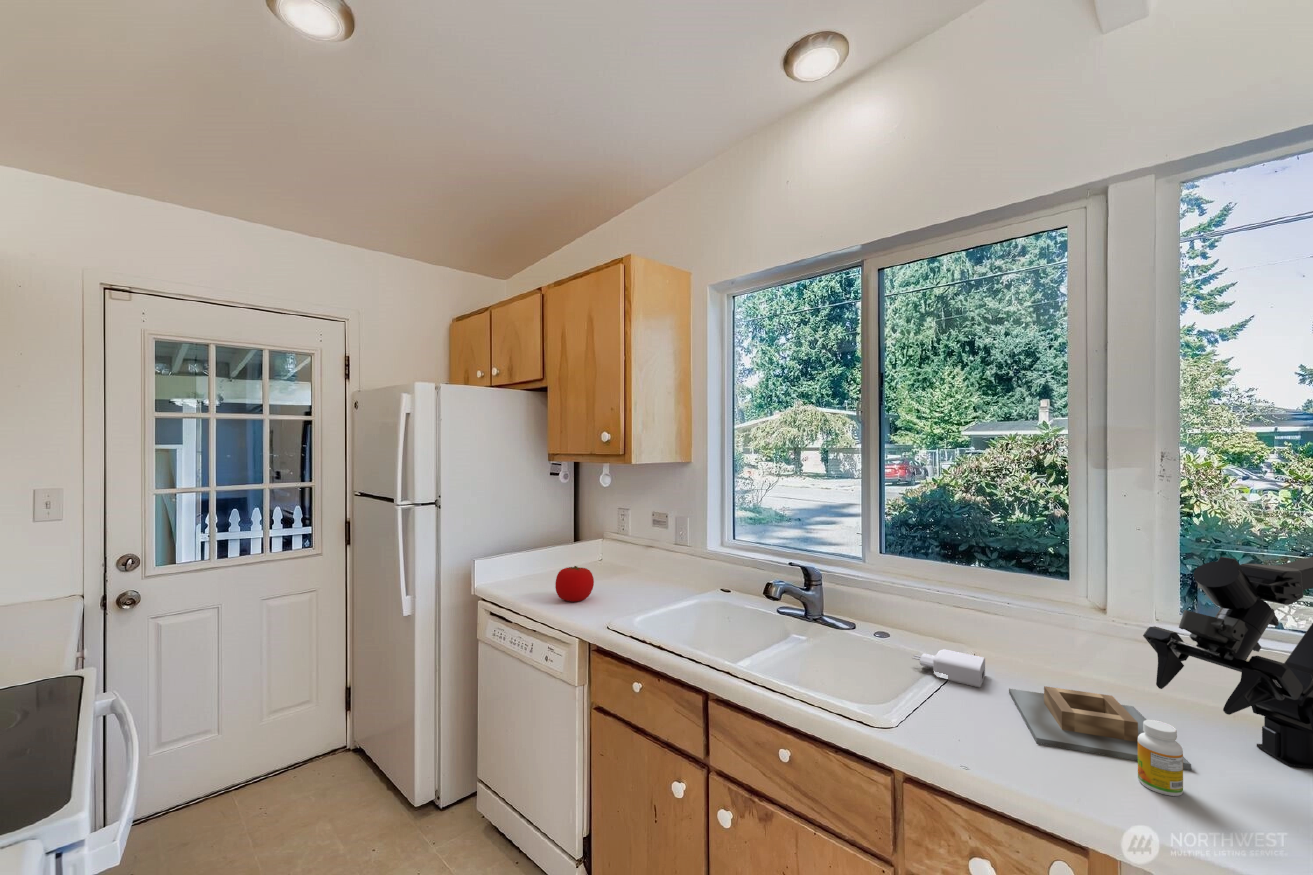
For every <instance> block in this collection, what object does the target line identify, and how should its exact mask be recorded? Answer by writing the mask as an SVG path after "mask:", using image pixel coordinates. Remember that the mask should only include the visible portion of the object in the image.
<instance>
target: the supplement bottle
mask: <svg viewBox="0 0 1313 875" xmlns="http://www.w3.org/2000/svg"><path fill="white" fill-rule="evenodd" d="M1143 731H1144V733H1141V734H1139V736H1138V761H1137V779H1138V782H1139V783H1140V784H1142V785H1143V786H1144V787H1145V788H1147V789H1149V790H1151V791H1153V792H1155V793H1158V794H1161V795H1165V796H1171V797H1178V796H1181V795H1182V794H1183V793H1184V769H1183V757H1184V750H1183V749H1184V748H1183V747H1182V744H1180V743H1179V742H1178V741H1177V739H1178V731H1177V728H1175V727H1174V726H1173V725H1171V724H1169V723H1166V722H1164V721H1160V720H1156V719H1155V720H1154V719H1147V720H1145V721H1144V722H1143Z"/></svg>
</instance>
